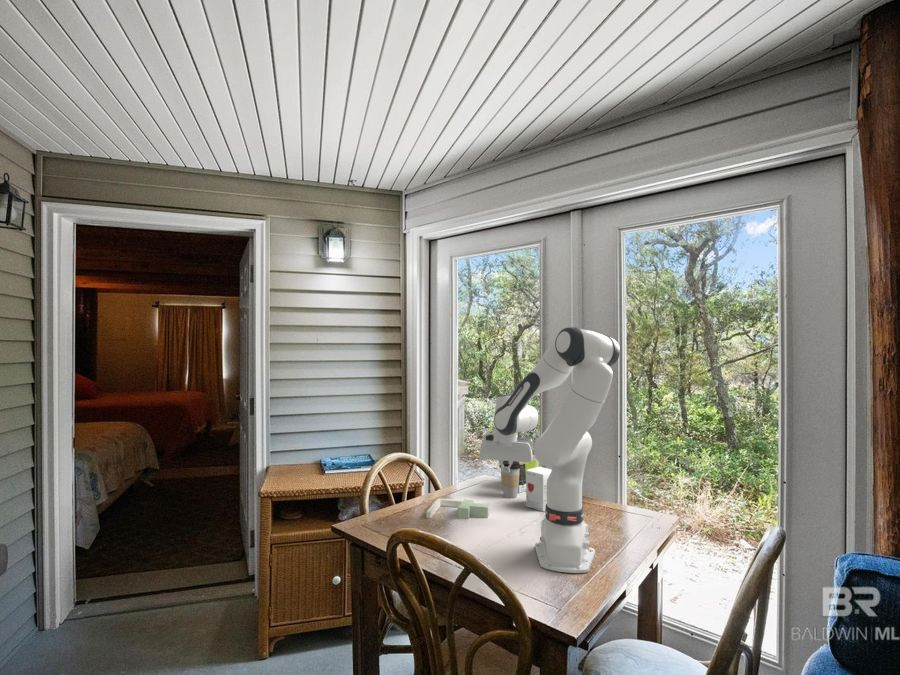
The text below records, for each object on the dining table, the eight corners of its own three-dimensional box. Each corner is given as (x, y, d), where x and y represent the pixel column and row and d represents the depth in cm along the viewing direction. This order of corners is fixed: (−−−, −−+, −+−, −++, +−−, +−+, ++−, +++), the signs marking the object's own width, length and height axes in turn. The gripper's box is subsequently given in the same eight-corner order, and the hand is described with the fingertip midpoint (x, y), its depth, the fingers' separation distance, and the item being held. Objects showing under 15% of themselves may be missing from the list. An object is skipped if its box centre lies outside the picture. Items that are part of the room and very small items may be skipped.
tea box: (524, 482, 225) (523, 451, 225) (540, 487, 217) (540, 455, 218) (502, 488, 215) (502, 456, 216) (519, 493, 208) (518, 460, 208)
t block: (486, 520, 175) (486, 510, 176) (458, 518, 178) (458, 507, 178) (490, 511, 185) (490, 501, 185) (463, 509, 188) (463, 499, 188)
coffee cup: (518, 500, 198) (518, 465, 199) (497, 498, 201) (496, 463, 202) (522, 494, 207) (522, 460, 207) (501, 492, 210) (501, 458, 211)
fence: (455, 520, 175) (455, 514, 176) (426, 518, 178) (426, 511, 178) (464, 506, 191) (464, 500, 191) (438, 504, 194) (438, 498, 194)
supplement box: (525, 506, 191) (525, 469, 192) (538, 501, 197) (538, 466, 198) (543, 512, 185) (543, 474, 185) (556, 506, 191) (556, 470, 191)
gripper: (534, 436, 180) (533, 471, 180) (482, 432, 185) (481, 467, 185) (532, 439, 174) (532, 476, 173) (478, 435, 179) (478, 471, 179)
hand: (505, 471), depth 179 cm, fingers closed
